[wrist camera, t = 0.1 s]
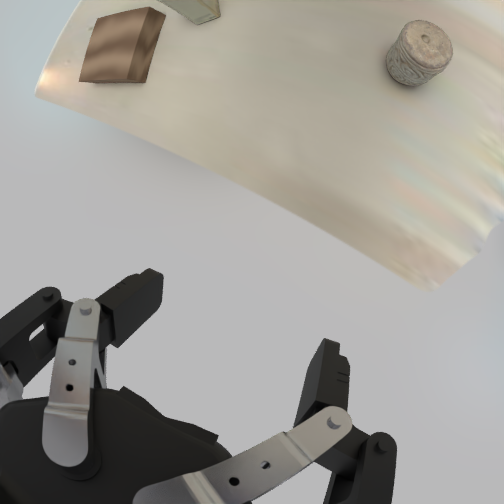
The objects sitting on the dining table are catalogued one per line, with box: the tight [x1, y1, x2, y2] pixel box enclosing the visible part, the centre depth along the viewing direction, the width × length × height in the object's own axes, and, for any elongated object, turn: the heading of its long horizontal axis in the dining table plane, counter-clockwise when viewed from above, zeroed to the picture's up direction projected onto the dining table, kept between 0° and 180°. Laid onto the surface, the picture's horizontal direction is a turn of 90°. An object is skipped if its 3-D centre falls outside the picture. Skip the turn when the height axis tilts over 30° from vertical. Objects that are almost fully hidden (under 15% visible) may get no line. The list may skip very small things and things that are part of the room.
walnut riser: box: [79, 7, 166, 83], centre depth 34 cm, size 14×14×5 cm
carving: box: [386, 20, 453, 86], centre depth 21 cm, size 6×8×12 cm
